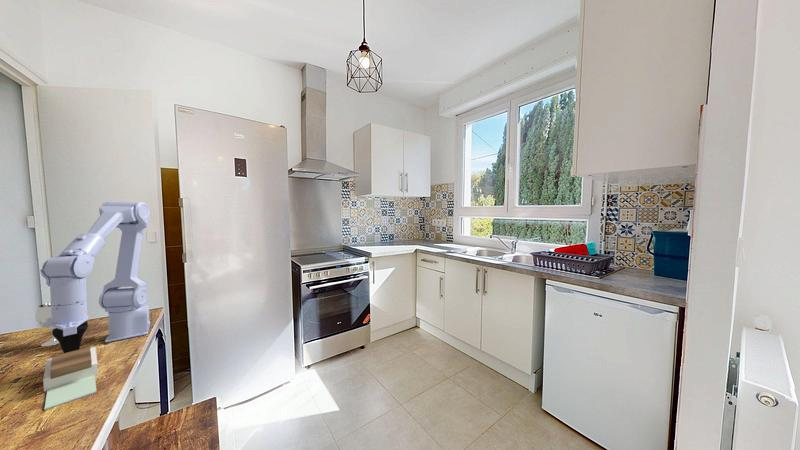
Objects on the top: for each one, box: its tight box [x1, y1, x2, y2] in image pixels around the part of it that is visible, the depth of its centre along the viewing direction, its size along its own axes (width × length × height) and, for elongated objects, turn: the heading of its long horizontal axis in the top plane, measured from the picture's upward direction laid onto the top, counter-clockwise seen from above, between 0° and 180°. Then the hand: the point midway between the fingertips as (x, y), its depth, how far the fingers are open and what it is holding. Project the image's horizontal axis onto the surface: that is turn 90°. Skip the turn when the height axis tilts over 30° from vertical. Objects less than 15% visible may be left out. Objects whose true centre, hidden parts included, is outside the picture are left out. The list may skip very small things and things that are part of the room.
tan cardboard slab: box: [50, 346, 92, 379], centre depth 64 cm, size 9×6×2 cm, turn 52°
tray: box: [42, 346, 99, 392], centre depth 65 cm, size 12×8×3 cm, turn 51°
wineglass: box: [35, 302, 60, 347], centre depth 79 cm, size 6×6×12 cm
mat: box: [43, 375, 97, 411], centre depth 59 cm, size 9×7×1 cm
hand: (71, 353), depth 67 cm, fingers closed
